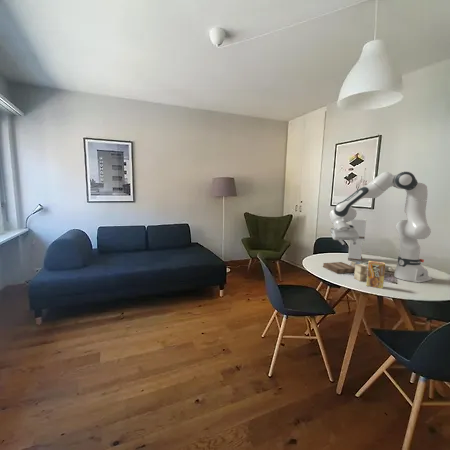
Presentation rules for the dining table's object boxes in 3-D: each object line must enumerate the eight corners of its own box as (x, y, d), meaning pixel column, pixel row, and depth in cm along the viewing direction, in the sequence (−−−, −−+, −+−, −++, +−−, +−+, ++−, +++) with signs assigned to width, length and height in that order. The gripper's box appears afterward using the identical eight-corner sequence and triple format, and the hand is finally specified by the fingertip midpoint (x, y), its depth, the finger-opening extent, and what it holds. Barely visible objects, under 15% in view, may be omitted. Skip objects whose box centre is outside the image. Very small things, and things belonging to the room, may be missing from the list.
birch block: (360, 278, 173) (361, 263, 172) (366, 280, 168) (367, 265, 167) (354, 278, 172) (355, 264, 171) (359, 281, 167) (360, 266, 166)
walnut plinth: (341, 265, 201) (341, 261, 201) (356, 272, 186) (356, 268, 185) (323, 266, 197) (323, 263, 197) (336, 273, 182) (337, 269, 182)
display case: (362, 262, 212) (366, 220, 207) (348, 260, 217) (351, 219, 212) (361, 258, 222) (365, 218, 217) (348, 257, 227) (351, 217, 222)
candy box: (382, 286, 158) (385, 262, 156) (383, 288, 155) (385, 264, 153) (366, 283, 163) (368, 260, 160) (366, 286, 159) (368, 262, 157)
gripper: (331, 225, 183) (339, 242, 175) (355, 225, 188) (364, 241, 180) (327, 230, 188) (334, 246, 180) (350, 230, 193) (358, 246, 185)
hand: (349, 244), depth 180 cm, fingers open, 8 cm apart
